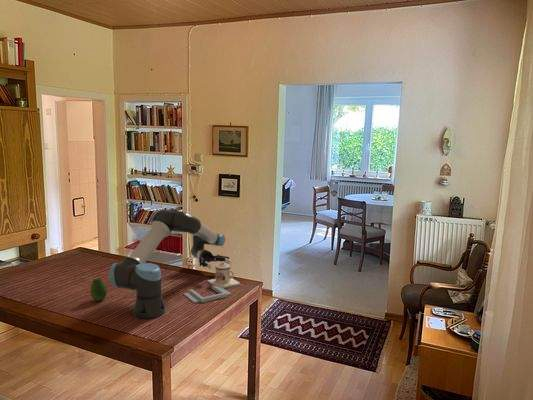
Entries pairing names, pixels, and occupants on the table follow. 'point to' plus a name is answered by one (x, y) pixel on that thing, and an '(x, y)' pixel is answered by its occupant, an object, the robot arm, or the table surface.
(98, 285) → the avocado
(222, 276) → the teacup with lid
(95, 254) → the table surface
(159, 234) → the robot arm
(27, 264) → the table surface
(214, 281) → the mat
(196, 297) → the cradle
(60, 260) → the table surface
